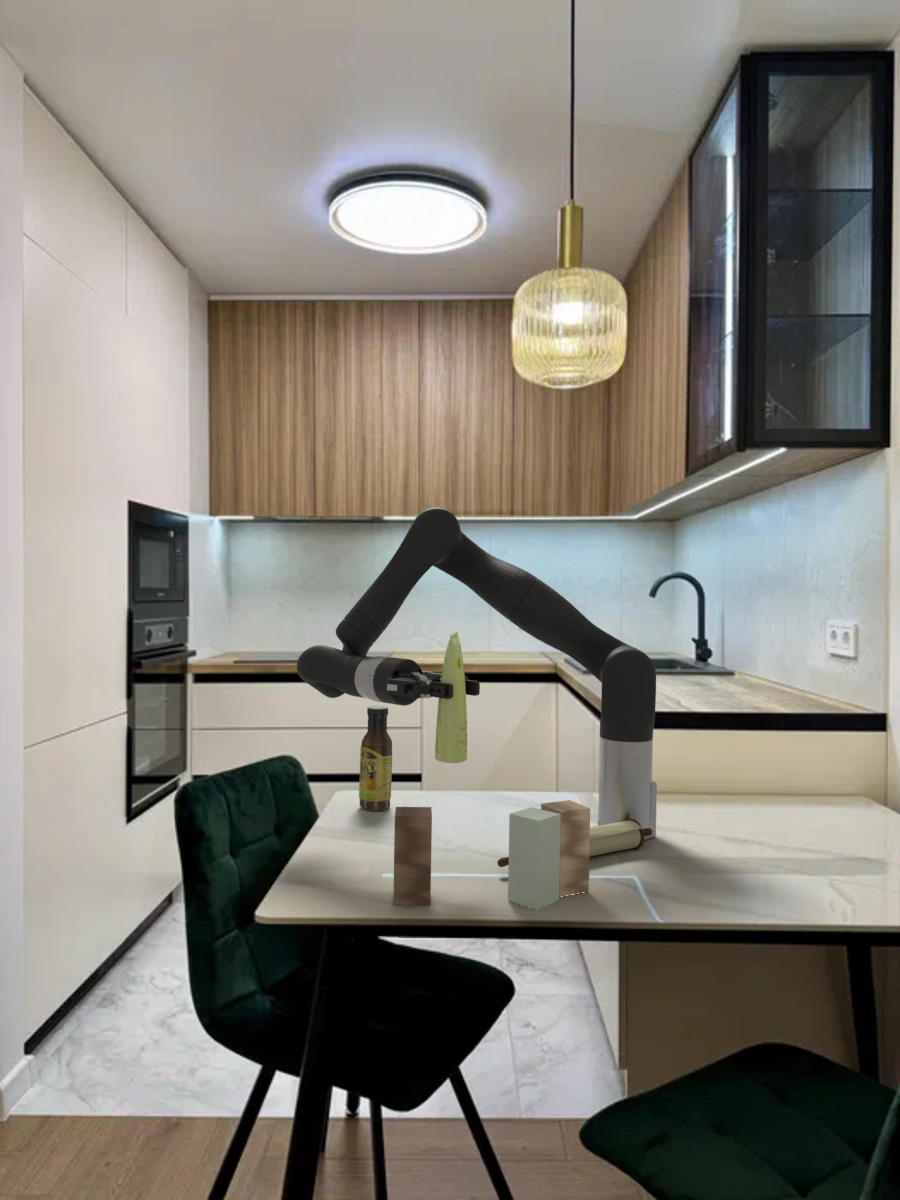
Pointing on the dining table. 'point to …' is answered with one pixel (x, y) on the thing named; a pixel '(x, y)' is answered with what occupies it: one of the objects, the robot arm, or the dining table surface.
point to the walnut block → (412, 856)
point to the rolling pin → (610, 838)
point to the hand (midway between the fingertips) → (464, 690)
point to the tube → (452, 708)
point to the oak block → (572, 845)
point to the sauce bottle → (376, 762)
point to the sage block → (534, 857)
